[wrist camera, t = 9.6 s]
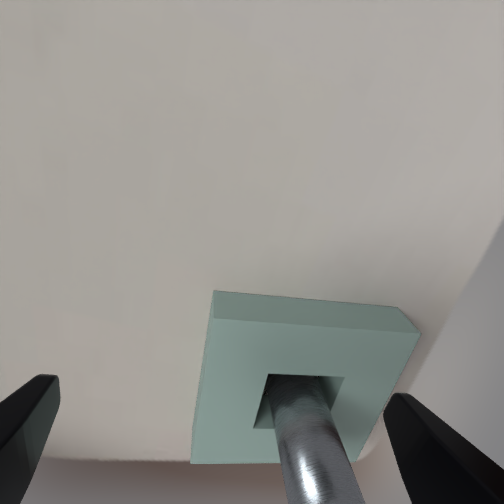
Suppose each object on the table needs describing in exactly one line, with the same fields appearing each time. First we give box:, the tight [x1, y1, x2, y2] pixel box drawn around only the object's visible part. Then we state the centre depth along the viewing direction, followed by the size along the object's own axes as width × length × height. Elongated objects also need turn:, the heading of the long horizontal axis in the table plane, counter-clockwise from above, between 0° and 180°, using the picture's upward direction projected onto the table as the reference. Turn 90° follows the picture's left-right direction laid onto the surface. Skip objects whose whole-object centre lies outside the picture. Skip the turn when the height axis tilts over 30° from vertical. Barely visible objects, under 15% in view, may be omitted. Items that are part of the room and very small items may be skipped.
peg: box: [266, 374, 365, 504], centre depth 20 cm, size 4×4×10 cm
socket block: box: [190, 291, 421, 464], centre depth 24 cm, size 14×14×3 cm
